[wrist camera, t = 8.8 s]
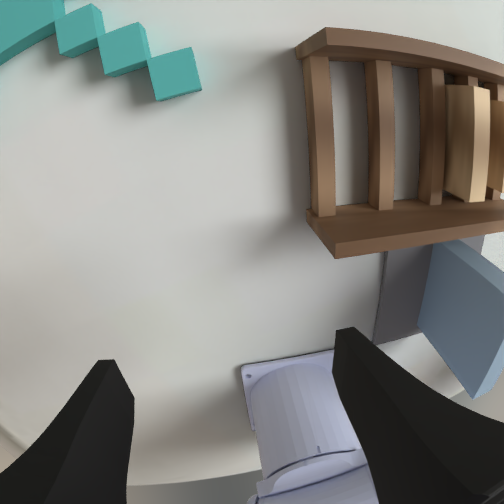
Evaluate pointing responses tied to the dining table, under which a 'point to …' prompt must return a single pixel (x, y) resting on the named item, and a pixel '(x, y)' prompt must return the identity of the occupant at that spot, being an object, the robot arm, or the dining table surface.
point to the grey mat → (406, 290)
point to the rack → (391, 144)
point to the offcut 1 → (466, 141)
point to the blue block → (465, 314)
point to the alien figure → (95, 43)
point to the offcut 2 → (496, 147)
